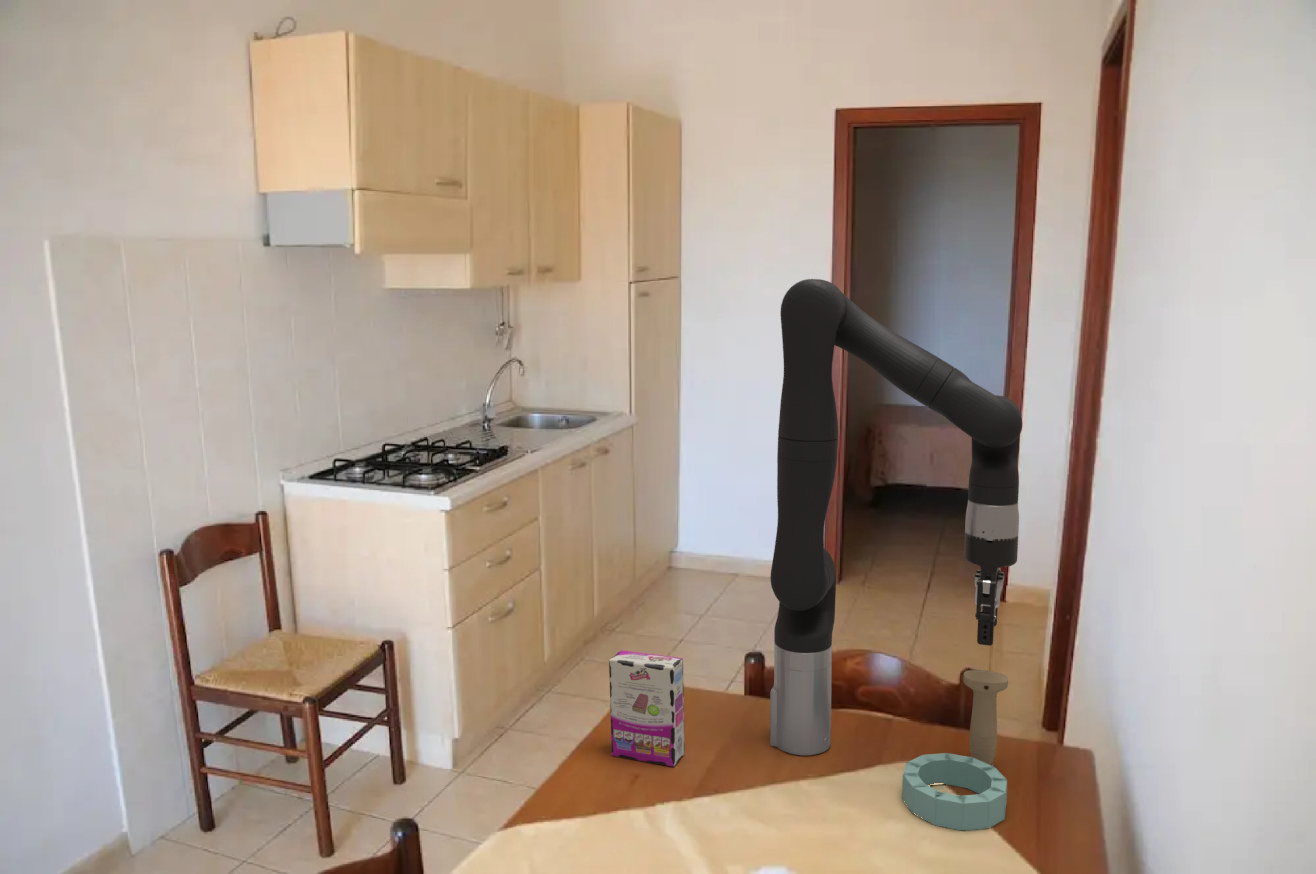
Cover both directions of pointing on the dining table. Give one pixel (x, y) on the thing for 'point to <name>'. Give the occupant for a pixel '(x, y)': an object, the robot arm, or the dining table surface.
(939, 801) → the notched ring
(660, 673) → the candy bar box
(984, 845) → the dining table surface
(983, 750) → the handle
